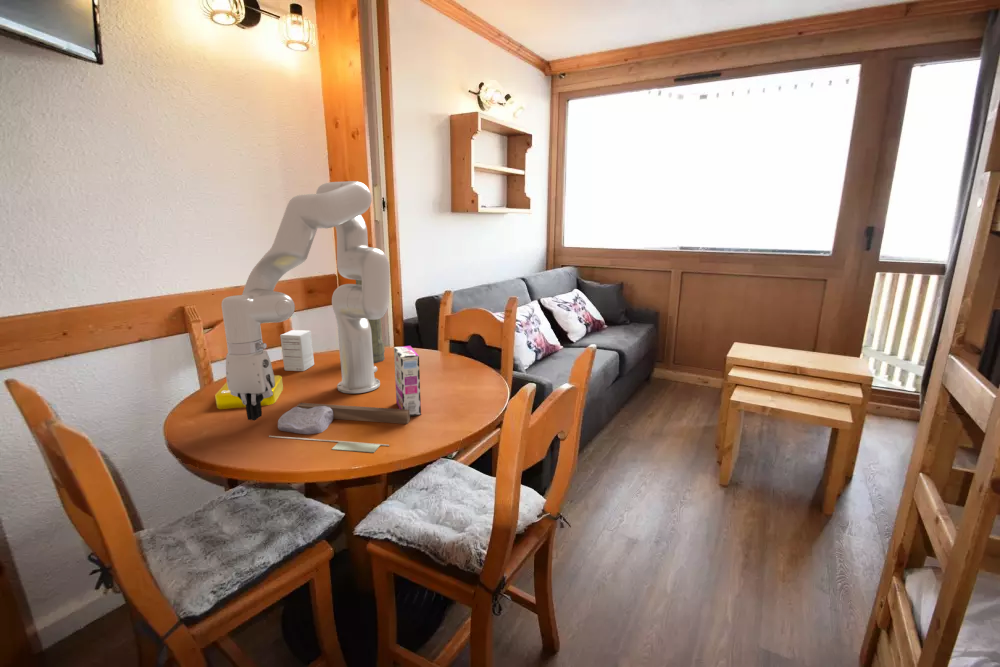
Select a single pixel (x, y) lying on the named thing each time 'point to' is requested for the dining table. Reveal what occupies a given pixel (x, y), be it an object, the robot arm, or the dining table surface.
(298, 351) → the supplement box
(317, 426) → the stone block
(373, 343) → the thermos
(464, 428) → the dining table surface
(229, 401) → the element tile
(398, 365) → the candy bar box
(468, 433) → the dining table surface
